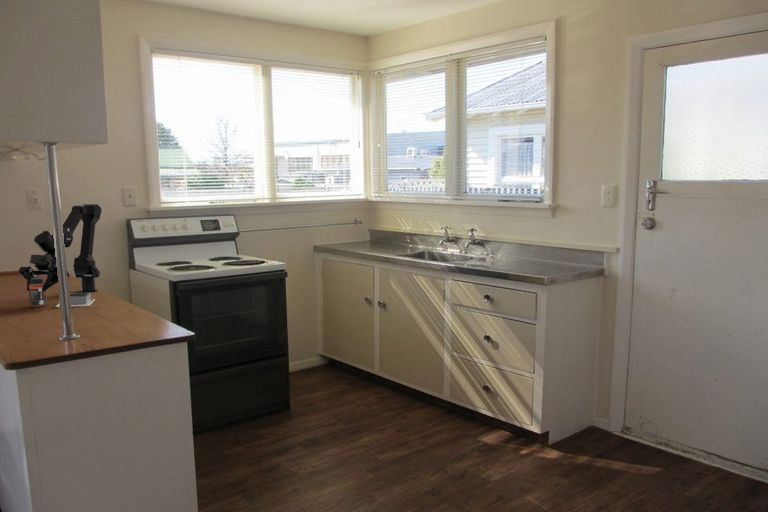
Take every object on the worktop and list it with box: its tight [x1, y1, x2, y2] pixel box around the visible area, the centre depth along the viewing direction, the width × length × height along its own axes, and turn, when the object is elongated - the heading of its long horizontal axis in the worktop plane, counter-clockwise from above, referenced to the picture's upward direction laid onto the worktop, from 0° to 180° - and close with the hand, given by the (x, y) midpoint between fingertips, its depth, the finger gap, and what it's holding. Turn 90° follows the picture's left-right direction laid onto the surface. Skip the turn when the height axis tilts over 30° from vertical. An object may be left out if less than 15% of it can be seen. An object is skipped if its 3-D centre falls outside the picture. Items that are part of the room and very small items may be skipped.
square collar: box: [55, 292, 95, 308], centre depth 248 cm, size 12×12×4 cm
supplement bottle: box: [28, 277, 48, 308], centre depth 243 cm, size 6×6×11 cm
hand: (35, 290), depth 242 cm, fingers open, 6 cm apart
